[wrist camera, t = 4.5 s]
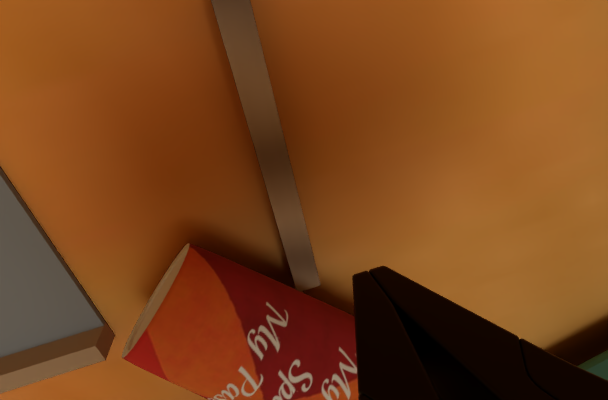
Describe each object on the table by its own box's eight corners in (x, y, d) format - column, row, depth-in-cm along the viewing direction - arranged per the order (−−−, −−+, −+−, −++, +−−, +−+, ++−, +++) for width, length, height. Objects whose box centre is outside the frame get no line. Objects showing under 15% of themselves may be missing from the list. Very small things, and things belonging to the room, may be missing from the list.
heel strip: (315, 270, 22) (320, 285, 20) (292, 277, 22) (297, 292, 20) (243, -15, 15) (245, -20, 13) (209, -7, 14) (207, -12, 13)
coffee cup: (176, 297, 12) (457, 426, 16) (213, 198, 19) (399, 307, 24) (79, 430, 14) (349, 508, 19) (145, 296, 22) (327, 377, 26)
